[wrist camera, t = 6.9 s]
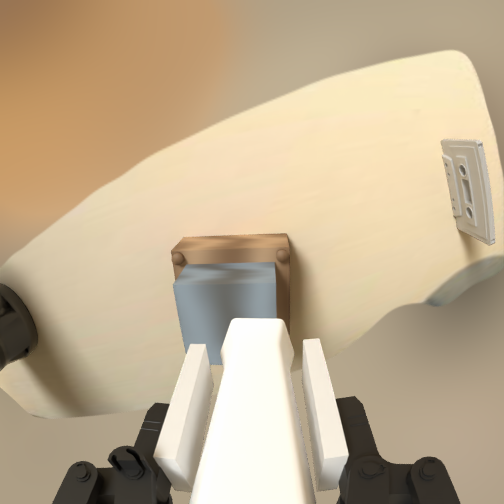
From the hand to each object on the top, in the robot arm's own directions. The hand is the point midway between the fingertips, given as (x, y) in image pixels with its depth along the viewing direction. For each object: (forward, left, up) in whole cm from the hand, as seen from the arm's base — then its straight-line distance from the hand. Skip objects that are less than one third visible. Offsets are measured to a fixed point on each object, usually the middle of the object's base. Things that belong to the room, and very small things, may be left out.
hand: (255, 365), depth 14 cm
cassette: (+25, +6, -22) cm, 34 cm away
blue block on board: (-3, -6, -22) cm, 23 cm away
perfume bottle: (0, 0, -1) cm, 1 cm away
